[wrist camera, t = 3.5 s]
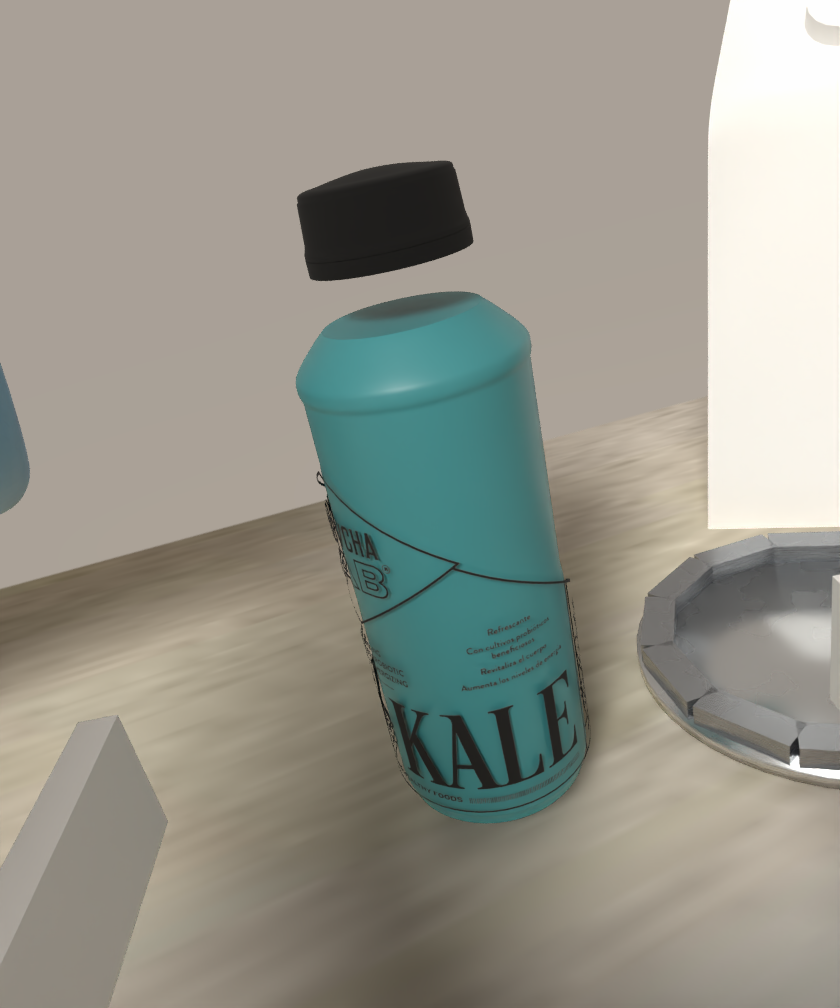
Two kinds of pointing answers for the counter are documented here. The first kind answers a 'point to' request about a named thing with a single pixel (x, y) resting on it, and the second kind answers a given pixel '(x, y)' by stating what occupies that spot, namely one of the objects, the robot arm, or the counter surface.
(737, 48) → the milk
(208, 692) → the counter surface
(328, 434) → the beverage bottle
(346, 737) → the counter surface
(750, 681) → the grey round plate
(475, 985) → the counter surface
